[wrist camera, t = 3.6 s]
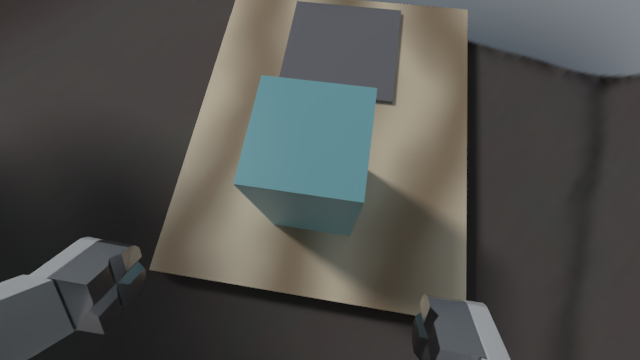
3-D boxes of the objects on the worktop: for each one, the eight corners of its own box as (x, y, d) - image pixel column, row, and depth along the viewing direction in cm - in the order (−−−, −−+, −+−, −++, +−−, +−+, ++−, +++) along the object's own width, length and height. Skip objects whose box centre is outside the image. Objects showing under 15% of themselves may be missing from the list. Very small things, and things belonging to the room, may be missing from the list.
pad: (277, 90, 21) (276, 87, 21) (297, 4, 24) (297, 1, 23) (391, 103, 20) (392, 101, 20) (400, 13, 23) (401, 10, 23)
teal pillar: (274, 224, 18) (233, 183, 11) (288, 154, 20) (261, 75, 12) (349, 236, 18) (364, 202, 10) (358, 164, 19) (377, 87, 12)
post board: (162, 270, 19) (81, 265, 13) (244, 5, 26) (217, -81, 20) (455, 320, 17) (522, 342, 11) (459, 25, 24) (503, -62, 18)
